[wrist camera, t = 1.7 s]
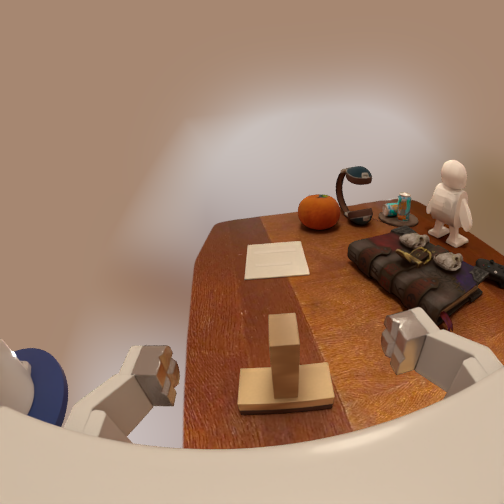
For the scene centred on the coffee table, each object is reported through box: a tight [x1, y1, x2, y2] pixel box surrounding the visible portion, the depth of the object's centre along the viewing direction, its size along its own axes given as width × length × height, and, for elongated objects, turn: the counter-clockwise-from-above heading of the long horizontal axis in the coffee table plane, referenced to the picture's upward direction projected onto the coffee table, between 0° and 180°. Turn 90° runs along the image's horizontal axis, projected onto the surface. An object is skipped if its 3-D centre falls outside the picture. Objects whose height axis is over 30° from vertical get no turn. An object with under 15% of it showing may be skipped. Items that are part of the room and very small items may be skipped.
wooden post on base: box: [238, 313, 334, 415], centre depth 25 cm, size 10×5×11 cm, turn 88°
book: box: [348, 225, 489, 332], centre depth 41 cm, size 26×18×7 cm
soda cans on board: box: [379, 192, 418, 227], centre depth 67 cm, size 12×12×8 cm
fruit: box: [298, 195, 340, 230], centre depth 67 cm, size 11×10×8 cm
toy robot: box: [426, 160, 472, 248], centre depth 51 cm, size 14×9×20 cm, turn 20°
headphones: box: [336, 166, 384, 225], centre depth 65 cm, size 6×15×22 cm
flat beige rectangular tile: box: [245, 241, 310, 280], centre depth 56 cm, size 12×14×1 cm
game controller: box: [476, 259, 504, 288], centre depth 38 cm, size 10×5×6 cm
